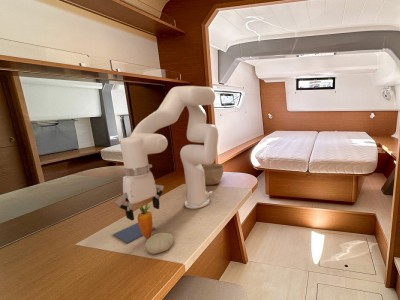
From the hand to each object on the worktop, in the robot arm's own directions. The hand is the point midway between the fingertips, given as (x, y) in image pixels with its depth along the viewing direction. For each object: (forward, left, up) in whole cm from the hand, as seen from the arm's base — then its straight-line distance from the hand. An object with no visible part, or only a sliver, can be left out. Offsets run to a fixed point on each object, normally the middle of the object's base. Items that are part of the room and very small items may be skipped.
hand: (144, 213), depth 83 cm
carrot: (0, 0, -11) cm, 11 cm away
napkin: (0, -10, -11) cm, 15 cm away
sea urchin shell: (+1, +9, -11) cm, 14 cm away
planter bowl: (-57, -24, -11) cm, 63 cm away
